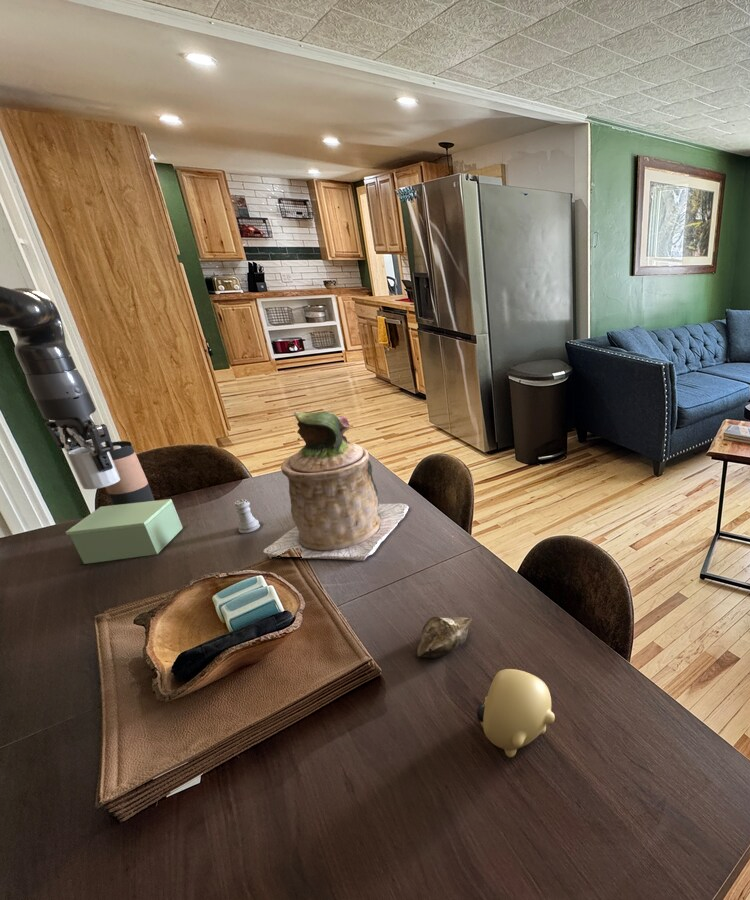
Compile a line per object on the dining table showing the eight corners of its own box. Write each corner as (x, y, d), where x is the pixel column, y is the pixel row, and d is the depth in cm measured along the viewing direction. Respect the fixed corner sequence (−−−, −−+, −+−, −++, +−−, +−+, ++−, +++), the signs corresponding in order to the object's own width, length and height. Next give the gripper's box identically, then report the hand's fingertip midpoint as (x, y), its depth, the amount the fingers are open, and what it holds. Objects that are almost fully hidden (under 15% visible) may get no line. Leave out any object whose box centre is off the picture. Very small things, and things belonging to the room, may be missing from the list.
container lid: (66, 535, 102) (64, 532, 102) (101, 509, 112) (100, 506, 112) (145, 525, 105) (143, 522, 105) (172, 501, 116) (171, 498, 115)
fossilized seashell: (426, 666, 77) (482, 643, 83) (419, 624, 77) (475, 606, 84) (411, 662, 82) (465, 641, 89) (404, 623, 83) (458, 605, 90)
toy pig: (542, 727, 73) (514, 661, 76) (575, 722, 64) (541, 647, 67) (485, 768, 67) (456, 694, 70) (512, 767, 58) (478, 684, 61)
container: (84, 565, 105) (69, 535, 102) (117, 537, 115) (104, 509, 112) (157, 555, 108) (145, 526, 105) (183, 529, 119) (172, 501, 116)
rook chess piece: (262, 523, 121) (254, 496, 118) (258, 532, 117) (249, 504, 114) (242, 526, 120) (232, 499, 117) (236, 535, 116) (227, 507, 113)
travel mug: (113, 522, 122) (80, 450, 114) (145, 507, 129) (116, 439, 121) (135, 526, 120) (103, 453, 112) (167, 511, 127) (139, 442, 119)
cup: (75, 490, 100) (58, 456, 96) (94, 479, 105) (79, 445, 102) (109, 487, 101) (94, 453, 98) (126, 476, 106) (112, 443, 103)
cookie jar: (369, 563, 106) (339, 430, 94) (261, 561, 106) (217, 428, 94) (412, 508, 129) (392, 395, 116) (323, 507, 129) (294, 394, 117)
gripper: (11, 395, 93) (49, 472, 100) (62, 400, 90) (98, 479, 97) (59, 385, 100) (92, 458, 106) (109, 390, 97) (139, 465, 103)
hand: (95, 468), depth 101 cm, fingers closed on cup, 6 cm apart
